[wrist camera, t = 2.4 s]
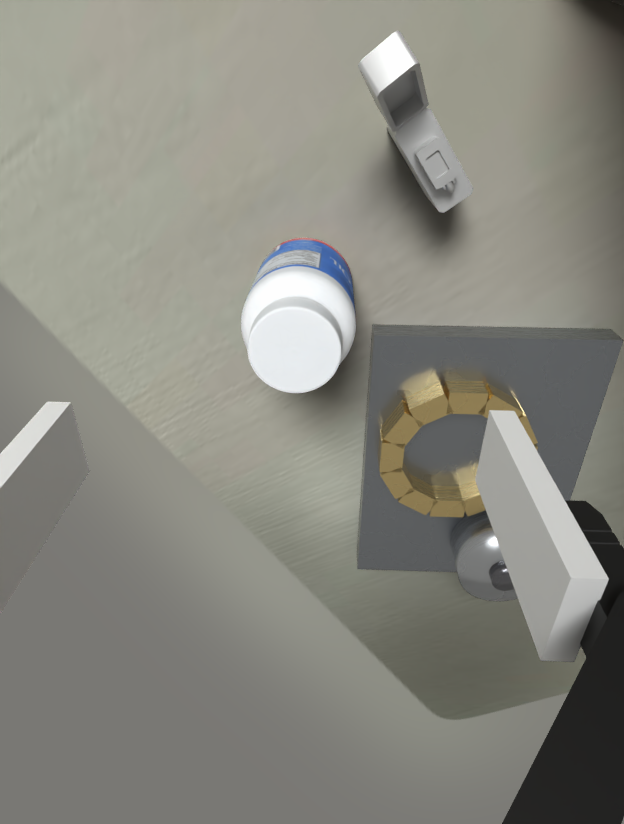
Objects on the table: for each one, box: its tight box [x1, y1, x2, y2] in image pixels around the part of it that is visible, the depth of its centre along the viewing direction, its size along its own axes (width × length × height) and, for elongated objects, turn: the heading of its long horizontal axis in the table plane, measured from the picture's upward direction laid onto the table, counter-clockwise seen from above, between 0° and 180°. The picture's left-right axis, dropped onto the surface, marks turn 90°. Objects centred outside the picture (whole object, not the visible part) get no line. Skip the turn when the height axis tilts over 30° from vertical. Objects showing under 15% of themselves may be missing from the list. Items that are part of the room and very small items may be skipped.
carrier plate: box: [357, 325, 623, 601], centre depth 34 cm, size 19×14×5 cm
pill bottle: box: [241, 238, 356, 393], centre depth 27 cm, size 6×5×10 cm
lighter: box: [358, 31, 473, 213], centre depth 23 cm, size 7×2×8 cm, turn 36°
